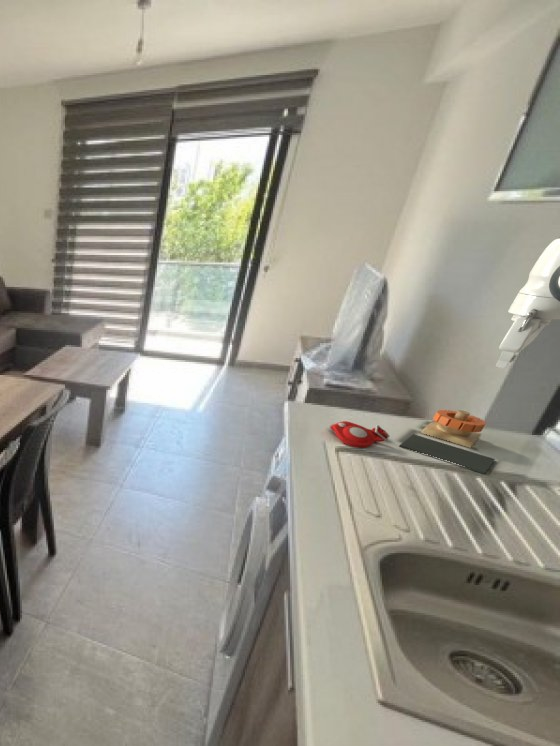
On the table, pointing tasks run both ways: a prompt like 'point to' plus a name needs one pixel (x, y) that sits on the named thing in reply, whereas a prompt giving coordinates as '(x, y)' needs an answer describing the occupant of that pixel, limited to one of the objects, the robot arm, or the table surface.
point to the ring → (459, 421)
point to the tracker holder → (358, 434)
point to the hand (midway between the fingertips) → (504, 364)
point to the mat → (448, 453)
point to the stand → (453, 431)
